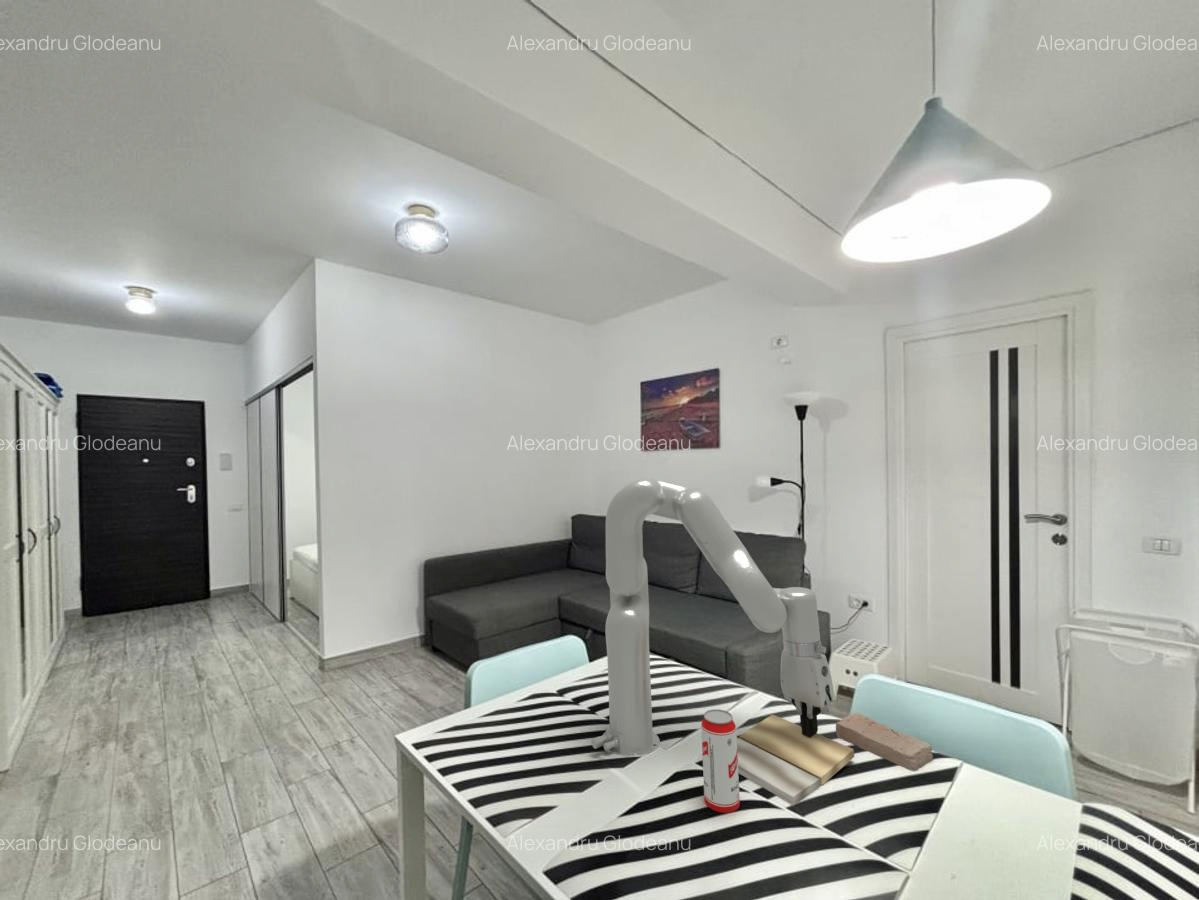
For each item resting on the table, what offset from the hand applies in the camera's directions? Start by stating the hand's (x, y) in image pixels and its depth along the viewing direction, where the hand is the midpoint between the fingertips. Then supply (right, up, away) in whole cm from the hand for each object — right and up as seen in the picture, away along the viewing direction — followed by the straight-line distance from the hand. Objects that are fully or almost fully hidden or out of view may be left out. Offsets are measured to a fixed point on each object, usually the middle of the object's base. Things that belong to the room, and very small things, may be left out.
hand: (809, 733), depth 105 cm
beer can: (-23, -4, -17) cm, 29 cm away
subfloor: (-7, -4, -5) cm, 9 cm away
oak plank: (-4, -2, -2) cm, 5 cm away
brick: (+15, -4, -1) cm, 16 cm away
